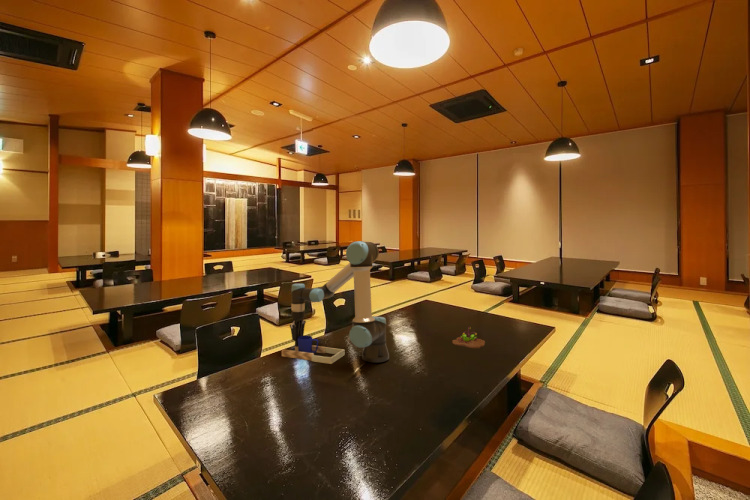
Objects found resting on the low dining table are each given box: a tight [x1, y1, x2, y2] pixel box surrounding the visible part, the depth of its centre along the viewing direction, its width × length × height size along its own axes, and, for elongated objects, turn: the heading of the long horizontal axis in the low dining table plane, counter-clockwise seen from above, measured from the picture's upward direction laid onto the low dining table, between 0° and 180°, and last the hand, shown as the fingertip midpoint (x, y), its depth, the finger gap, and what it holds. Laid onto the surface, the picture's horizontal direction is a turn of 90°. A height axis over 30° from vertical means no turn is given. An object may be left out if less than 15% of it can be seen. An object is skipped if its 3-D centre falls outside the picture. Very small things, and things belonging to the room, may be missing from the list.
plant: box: [452, 326, 486, 349], centre depth 206 cm, size 20×20×11 cm
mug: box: [298, 335, 319, 354], centre depth 183 cm, size 8×12×10 cm
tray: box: [311, 346, 346, 365], centre depth 179 cm, size 12×16×3 cm
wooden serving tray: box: [281, 344, 326, 361], centre depth 184 cm, size 20×14×4 cm
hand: (297, 351), depth 186 cm, fingers closed, pressing on mug
